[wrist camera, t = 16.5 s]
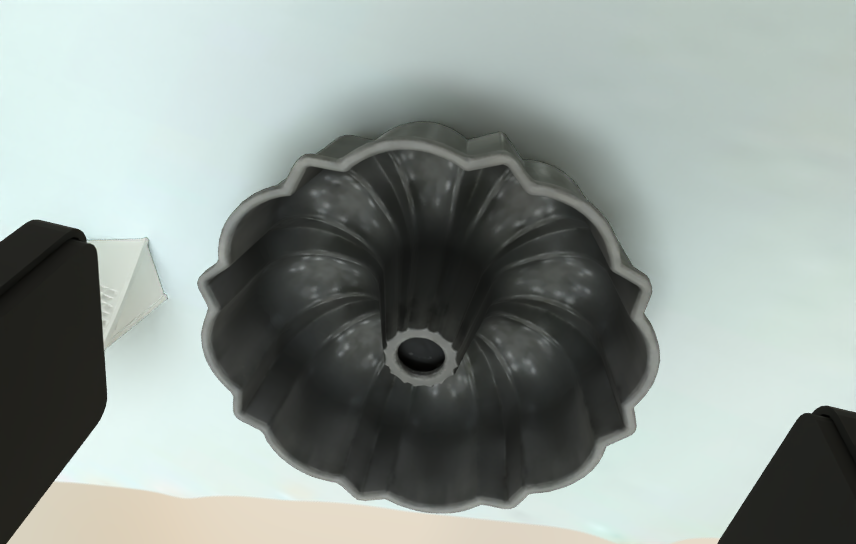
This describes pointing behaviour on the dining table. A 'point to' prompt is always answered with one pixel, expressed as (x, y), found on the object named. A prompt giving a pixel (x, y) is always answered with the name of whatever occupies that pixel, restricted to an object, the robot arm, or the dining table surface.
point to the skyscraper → (126, 285)
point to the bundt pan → (429, 321)
